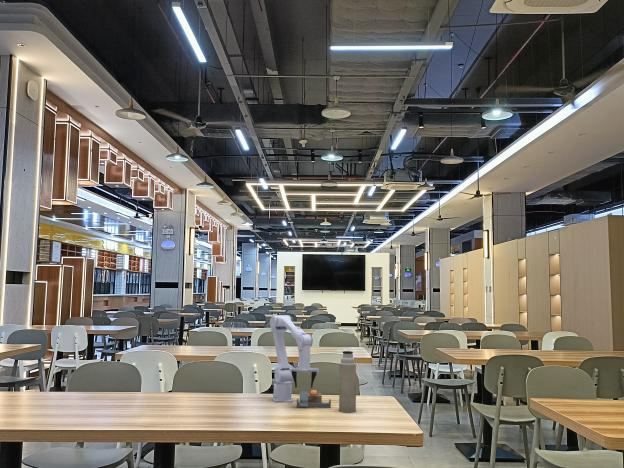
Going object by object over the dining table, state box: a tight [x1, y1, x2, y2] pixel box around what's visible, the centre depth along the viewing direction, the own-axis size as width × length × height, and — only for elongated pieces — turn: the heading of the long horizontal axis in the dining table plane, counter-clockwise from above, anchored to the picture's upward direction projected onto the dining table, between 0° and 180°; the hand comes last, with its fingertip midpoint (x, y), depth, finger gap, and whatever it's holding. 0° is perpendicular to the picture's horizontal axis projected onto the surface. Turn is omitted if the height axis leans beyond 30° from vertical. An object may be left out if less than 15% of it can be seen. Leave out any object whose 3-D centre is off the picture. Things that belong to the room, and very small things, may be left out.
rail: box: [296, 398, 332, 409], centre depth 276 cm, size 17×3×4 cm, turn 90°
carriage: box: [299, 390, 309, 406], centre depth 276 cm, size 4×5×6 cm
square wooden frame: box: [308, 392, 323, 402], centre depth 287 cm, size 8×8×4 cm
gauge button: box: [310, 389, 318, 395], centre depth 287 cm, size 3×3×4 cm
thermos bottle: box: [338, 350, 357, 414], centre depth 269 cm, size 8×8×28 cm
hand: (303, 387), depth 276 cm, fingers open, 7 cm apart
